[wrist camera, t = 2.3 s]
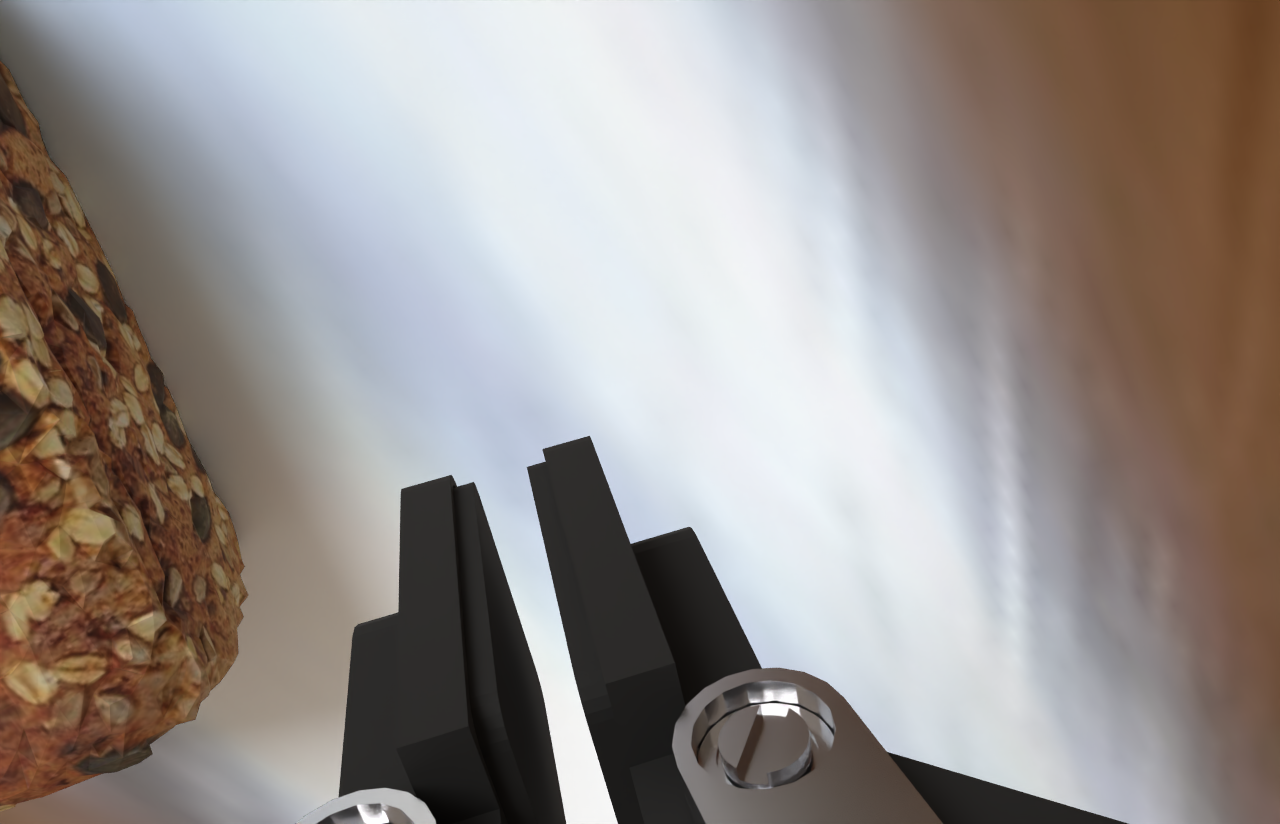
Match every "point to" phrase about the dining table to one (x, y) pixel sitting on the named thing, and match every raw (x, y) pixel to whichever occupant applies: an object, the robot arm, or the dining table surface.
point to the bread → (92, 504)
